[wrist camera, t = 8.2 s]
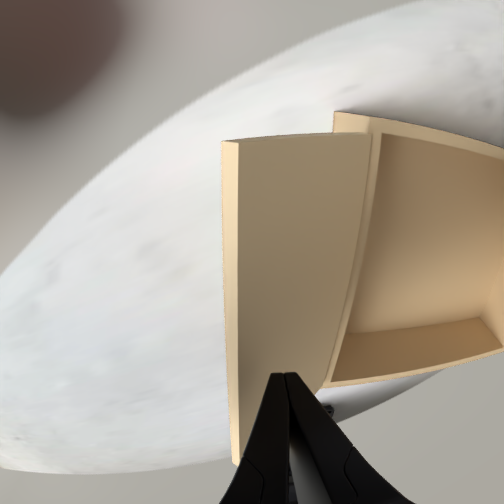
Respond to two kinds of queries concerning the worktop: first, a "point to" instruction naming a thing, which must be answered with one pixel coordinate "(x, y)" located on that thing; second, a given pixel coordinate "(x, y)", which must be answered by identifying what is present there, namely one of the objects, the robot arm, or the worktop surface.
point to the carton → (422, 255)
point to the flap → (286, 258)
